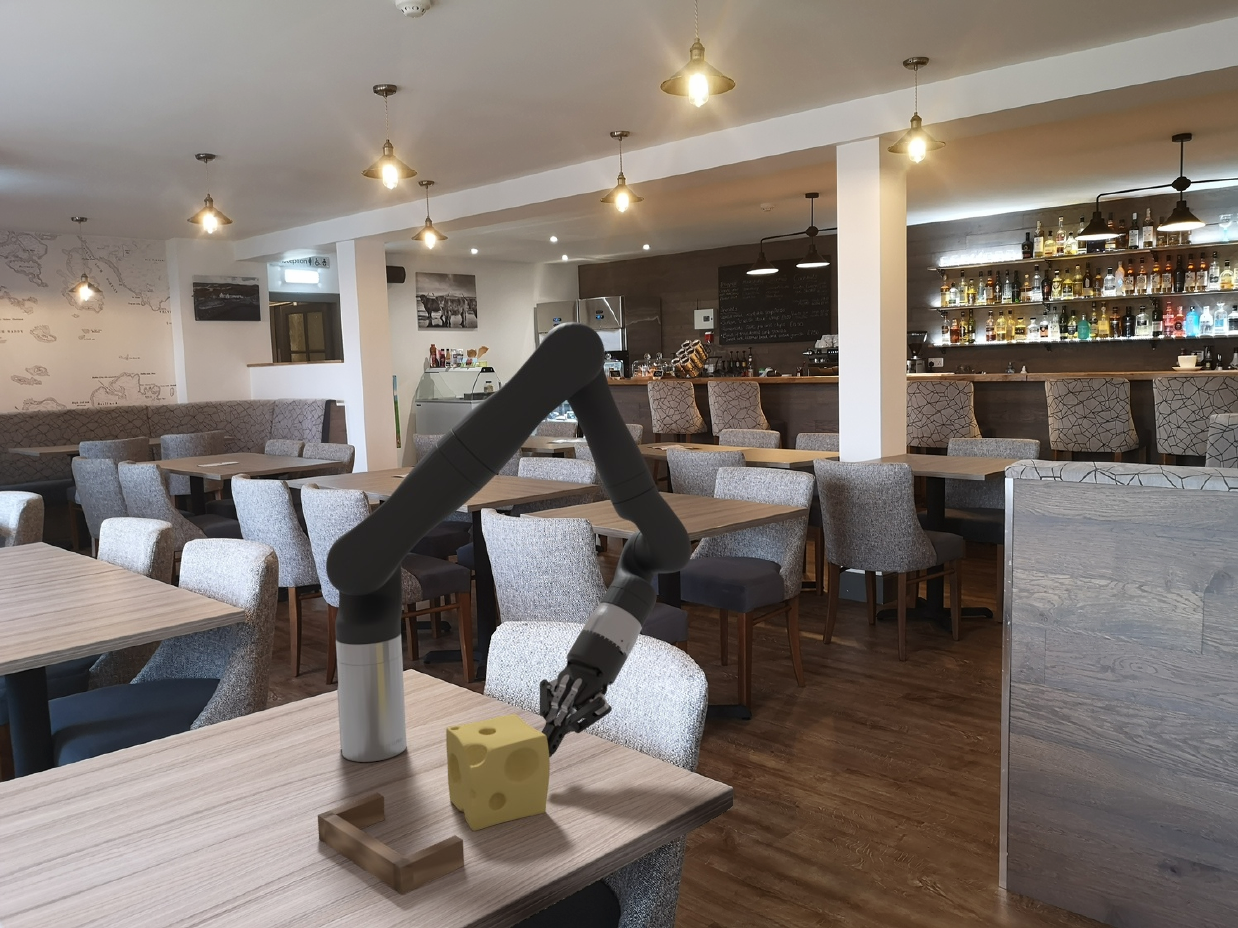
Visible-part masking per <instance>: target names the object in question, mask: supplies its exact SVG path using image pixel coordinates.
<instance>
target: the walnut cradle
mask: <svg viewBox="0 0 1238 928" xmlns="http://www.w3.org/2000/svg"><path fill="white" fill-rule="evenodd" d="M384 796H385V795H383V794H381V793H379V792H375V793H372V794H370V795H369V794H368V795H367V796H364V797H362V798H359V799H356V800H354V801H351V802H348V803H345V804H343V805H340V806H338V807H335V808H332V809H330V810H327V811H325V812H322V813H320V814H317V828H318V840H320V841H321V842H323V844H326V845H327V846H329V848H331V849H333V850H334V851H336V852H338V854H340V855H342V856H343V857H345V859H348V860H349V861H351V862H352V863H353V864H355V865H357V866H358V867H360V868H361V869H362V870H364V871H366V872H367V873H369V874H370V875H372V876H373V877H374V878H376V879H378V880H379V881H380V882H382V883H383V884H385V885H387V886H388V887H389V888H391V889H392V890H394V891H395V892H397V893H398V894H400V895H401V896H403V895H405V894H406V893H409V892H411V891H413V890H416V889H418V888H419V887H423V886H424V885H426V884H429V883H430V882H432V881H435V880H436V879H438V878H440V877H443V876H445V875H447V874H448V873H449V874H450V873H452V872H454V871H456V870H457V869H460V868H461V867H464V866H465V854H464V839H463V838H461V837H459V836H457V835H452V836H450V837H448V838H445V839H443V840H442V841H439V842H437V843H434V844H432V845H429V846H428V847H425V848H423V849H421V850H418V851H416V852H414V853H412V854H410V855H407V856H403V855H402V854H401V853H398V852H397V851H395V850H393V848H390V847H389V846H387V845H386V844H384V843H382V842H381V841H379V840H378V839H376V838H374V837H373V836H371V835H370V834H368V833H366V832H364V831H363V829H365V828H368V827H369V826H372V825H374V824H377V823H379V822H382V821H384V820H385V819H386V818H385V817H386V815H385V813H386V812H385V811H386V810H385V797H384Z"/></svg>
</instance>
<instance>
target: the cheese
mask: <svg viewBox="0 0 1238 928" xmlns="http://www.w3.org/2000/svg"><path fill="white" fill-rule="evenodd" d="M445 731H446V732H445V733H446V734H445V736H446V739H445V740H446V742H445V744H446V758H447V759H446V761H447V762H446V763H447V783H448V795H449V800H450V801H451V802H452V804H453V805H454V806H455V808H457V809H458V811H459V812H462V813H464V817H465V818H464V819H465V821H466V822H467V824H468V825H469V828H470V829H471V830H472V832H475V831H480V830H483V829H486V828H489V827H492V826H495V825H498V824H502V823H507V822H510V821H515V820H518V819H523V818H527V817H532V816H536V815H537V816H538V815H540V814H544V813H546V812H547V800H548V792H549V784H550V764H551V763H550V758H549V750H548V742H547V737H546V735H545V734H543V733H542V731H539V730H538V729H536V728H534V727H533V726H531V725H530V724H529V723H527V722H526V721H524V720H523V719H522V718H521V717H520V716H519V715H518V714H517V713H511V714H505V715H501V716H497V717H494V718H490V719H489V718H488V719H484V720H480V721H475V722H469V723H465V724H460V725H459V724H458V725H453V726H447V727H446V730H445Z"/></svg>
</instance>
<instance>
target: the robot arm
mask: <svg viewBox="0 0 1238 928" xmlns="http://www.w3.org/2000/svg"><path fill="white" fill-rule="evenodd" d="M605 358H606V351H605V345H604V343H603V340H602V338H601V336H600V335H599V333H597V331H596V330H595V329H594V328H593V327H590V326H589V325H588V324H584V323H583V322H579V321H578V322H577V321H568V322H562V323H560V324H558V325H556V326H554V327H553V328H552V329H550V330H549V331H548V332H547V333H546V335H545V336H544V338H543V339H542V340H541V342H540V343H539V345H537V347H536V348H535V350H534V351H533V352H532V354H531V355H530V356H529V357H528V358H527V359H526V361H525V362H524V363H523V364H522V365H521V367H520V368H518V370H517V371H516V372H515V373H514V375H513V376H512V377H511V378H509V380H508V381H507V382H506V383H504V384H503V386H501V387H500V388H498V390H496V391H495V392H494V393H492V394H491V395H490V396H488V397H487V398H485V399H483V401H481V402H480V403H478V404H477V405H476V406H475V407H474V408H472V409H471V410H470V411H469V412H467V413H466V414H465V415H464V416H463V417H461V419H459V420H458V421H457V422H456V423H455V424H453V426H452V427H451V428H450V429H449V430H448V431H446V433H445V434H443V436H441V437H440V438H439V439H438V440H437V441H436V443H435V444H434V445H432V446H431V448H429V450H428V451H427V452H426V453H425V454H424V455H423V456H422V457H421V459H420V460H419V461H418V462H417V463H416V464H415V465H414V467H413V468H412V469H411V470H410V471H409V472H408V473H407V475H406V476H405V477H404V479H403V480H401V482H400V484H399V485H398V486H397V487H396V489H395V490H394V491H393V492H392V493H391V494H390V495H389V496H388V498H386V500H385V501H384V502H382V503H381V504H380V505H379V506H378V507H377V508H376V509H375V510H373V511H372V512H371V513H370V514H368V516H366V517H365V518H364V519H363V520H361V521H360V522H359V523H358V524H357V525H355V526H354V527H353V528H351V529H350V530H348V531H347V532H345V533H344V534H342V535H340V536H339V537H338V538H337V539H336V540H335V541H334V543H333V544H332V545H331V547H330V548H329V551H328V554H327V557H326V563H325V568H326V569H325V570H326V575H327V578H328V581H329V582H330V584H331V585H332V586H333V588H335V590H337V591H338V597H339V598H338V599H339V600H338V608H337V613H336V617H335V623H334V627H335V628H334V629H335V647H336V649H335V650H336V663H337V665H336V666H337V679H338V680H337V682H338V683H337V684H338V686H337V688H336V689H337V706H338V707H337V709H338V726H339V741H340V742H339V743H340V744H339V745H340V749H341V754H342V757H344V759H346V760H349V761H353V762H362V763H366V762H368V763H370V762H376V761H378V762H379V761H382V760H383V761H384V760H387V759H390V758H393V757H396V756H398V755H400V754H401V753H403V752H404V751H405V750H406V749H407V744H408V743H407V730H406V729H407V728H406V727H407V726H406V705H405V687H404V683H405V682H404V669H403V668H404V665H403V650H402V633H401V632H402V629H401V628H402V627H401V626H402V625H401V622H402V612H403V581H402V580H403V577H402V576H403V575H402V561H403V560H404V559H405V557H406V556H407V555H408V554H409V553H410V552H411V551H412V550H413V549H414V547H415V546H416V545H417V544H418V543H419V542H420V541H421V540H422V539H423V538H424V537H425V536H426V535H427V534H428V533H430V532H431V530H433V529H434V528H436V527H437V526H438V525H439V524H441V523H443V521H445V520H446V519H448V518H449V517H451V516H452V514H454V513H455V512H456V511H457V510H459V509H460V508H462V506H464V505H466V504H467V502H469V501H470V500H471V499H472V498H473V497H474V496H476V495H477V493H479V492H480V491H481V490H482V489H483V488H484V487H485V486H486V485H487V484H488V483H489V482H490V481H491V480H492V479H494V477H495V476H496V475H497V474H498V473H499V472H500V471H501V470H502V469H503V468H504V467H505V466H506V465H507V464H508V463H509V461H510V460H512V458H513V457H514V456H515V455H516V453H517V452H518V451H519V450H520V449H521V448H522V447H523V445H524V444H525V443H526V442H527V440H528V439H529V438H530V436H532V434H533V433H534V431H535V430H536V429H537V428H538V426H539V425H540V424H541V423H542V422H543V421H544V420H545V419H546V418H547V417H548V416H549V415H550V414H551V413H552V412H554V411H555V410H556V409H557V408H558V407H560V406H561V405H562V404H564V402H567V404H568V405H569V406H570V409H571V411H572V412H573V414H574V416H575V418H576V419H577V423H578V424H579V425H578V426H579V427H580V429H581V431H582V433H583V435H584V438H585V442H586V444H587V446H588V449H589V452H590V454H591V457H592V460H593V462H594V464H595V467H596V470H597V472H598V475H599V477H600V479H601V481H602V484H603V487H604V489H605V491H606V494H607V496H608V497H609V500H610V502H611V504H612V506H613V509H614V511H615V512H616V514H617V515H618V517H620V518H621V519H623V520H626V521H629V522H631V523H633V524H634V525H635V526H636V528H637V529H638V530H636V531H634V533H632V534H631V535H630V537H629V538H628V539H627V540H626V541H625V544H624V546H623V547H622V551H621V553H620V555H619V560H618V562H617V565H616V569H615V571H614V572H615V573H614V577H613V580H612V582H611V584H610V585H609V586H608V589H607V590H606V592H605V594H603V596H602V599H601V600H600V602H599V604H598V605H597V606H596V608H595V609H594V610H593V612H592V613H591V614H590V615H589V617H588V618H587V621H586V622H585V624H584V626H583V627H582V629H581V631H580V632H579V634H578V636H577V638H576V640H575V641H574V643H573V644H572V646H571V648H570V649H569V651H568V652H567V655H566V660H567V661H566V666H565V667H564V668H563V669H562V670H561V671H560V672H559V673H558V675H557V678H555V679H553V680H551V681H548V680H547V679H546V678H544V679H542V680H541V681H540V682H539V715H540V716H541V717H543V719H544V720H545V725H544V727H543V729H542V730H541V732H542V733H543V734H545V735H546V737H547V742H548V750H549V759H550V758H551V757H552V756H553V755H554V754H556V752H557V750H558V749H559V747H560V745H561V743H562V742H563V740H564V738H565V736H566V735H569V734H570V733H573V732H574V733H576V734H580V733H582V732H583V731H585V730H586V729H588V728H589V727H591V726H592V725H594V724H595V723H596V722H598V721H600V720H601V719H602V718H604V717H605V716H607V715H609V713H611V712H612V708H613V707H612V706H611V705H610V704H609V703H608V701H607V698H606V697H605V695H607V693H608V687H609V686H611V685H613V684H614V683H615V682H616V679H617V678H618V676H619V674H620V672H621V671H622V668H623V667H624V665H625V663H626V661H627V659H628V658H629V656H630V654H631V653H632V651H633V649H634V647H635V646H636V643H637V640H638V638H639V636H640V633H641V632H642V629H643V627H644V625H645V623H646V621H647V620H648V618H649V616H650V614H651V613H652V610H653V609H654V607H655V604H656V602H657V597H658V595H657V591H656V590H655V587H654V586H653V585H652V584H653V580H654V578H655V576H656V575H658V574H672V573H677V572H680V571H682V570H683V569H685V568H686V567H687V566H688V564H689V562H690V560H691V557H692V551H693V550H692V549H693V548H692V543H691V539H690V535H689V533H688V531H687V529H686V527H685V525H684V524H683V523H682V520H680V518H679V517H678V516H677V514H676V513H675V512H674V510H673V509H672V508H671V506H670V505H669V504H668V502H667V501H666V500H665V498H664V497H663V496H662V495H661V493H660V492H659V490H658V487H657V485H656V483H655V480H654V478H653V476H652V473H651V470H650V469H649V466H648V464H647V462H646V460H645V458H644V456H643V454H642V451H641V450H640V448H639V446H638V444H637V442H636V440H635V439H634V437H633V435H632V433H631V431H630V430H629V428H628V425H627V424H626V422H625V420H624V418H623V417H622V415H621V412H620V410H619V408H618V406H617V404H616V401H615V399H614V397H613V394H612V391H611V389H610V388H611V387H610V385H609V382H608V378H607V375H606V371H605V367H604V364H605V363H604V362H605Z"/></svg>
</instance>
